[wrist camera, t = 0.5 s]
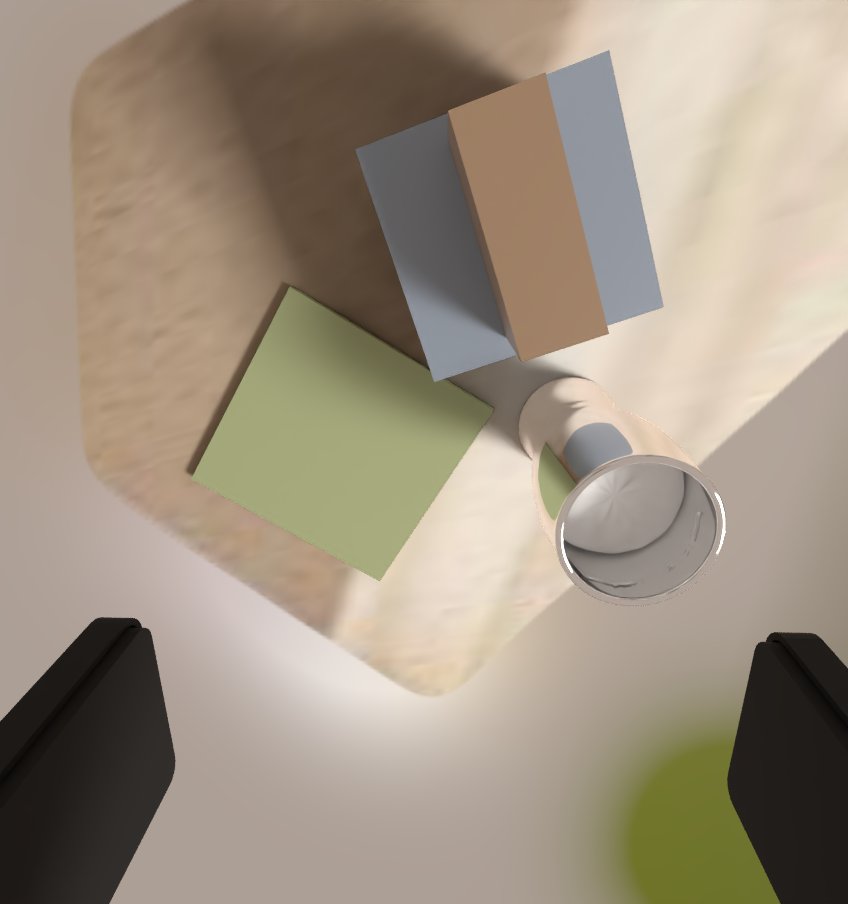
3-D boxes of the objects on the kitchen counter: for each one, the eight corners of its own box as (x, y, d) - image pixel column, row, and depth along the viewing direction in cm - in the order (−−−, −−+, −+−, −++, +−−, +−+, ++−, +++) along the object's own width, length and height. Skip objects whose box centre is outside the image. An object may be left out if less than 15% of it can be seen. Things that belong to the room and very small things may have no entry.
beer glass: (547, 349, 36) (611, 418, 22) (646, 400, 37) (770, 499, 23) (491, 447, 39) (517, 568, 24) (586, 494, 39) (665, 637, 25)
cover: (558, 108, 32) (658, -8, 17) (602, 288, 35) (719, 324, 20) (381, 176, 34) (329, 123, 19) (437, 343, 37) (431, 416, 21)
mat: (292, 285, 36) (289, 286, 35) (493, 408, 38) (494, 410, 37) (194, 475, 40) (191, 479, 39) (380, 576, 42) (379, 581, 41)
